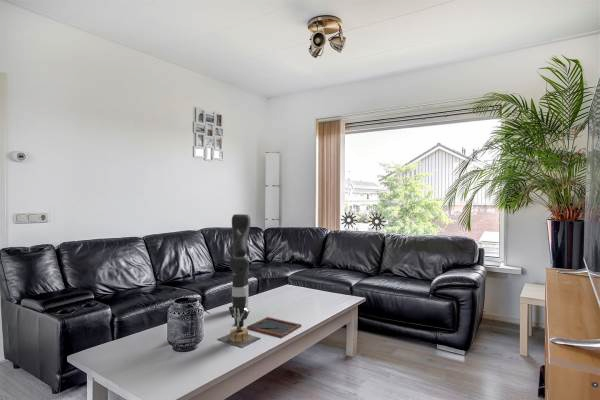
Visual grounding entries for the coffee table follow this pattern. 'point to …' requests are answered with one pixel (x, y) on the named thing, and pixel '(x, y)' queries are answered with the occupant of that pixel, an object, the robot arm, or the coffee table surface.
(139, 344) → the coffee table surface
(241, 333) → the cake on slate board
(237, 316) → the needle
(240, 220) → the robot arm
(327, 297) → the coffee table surface
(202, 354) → the coffee table surface
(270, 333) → the picture frame
